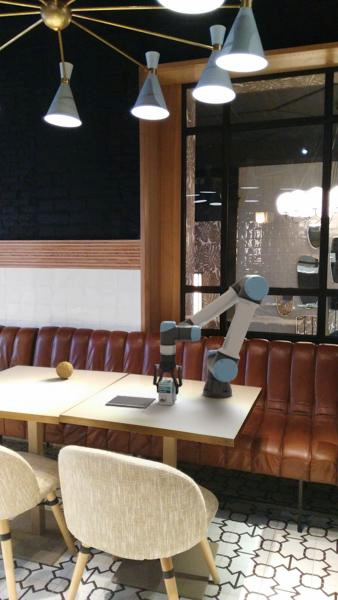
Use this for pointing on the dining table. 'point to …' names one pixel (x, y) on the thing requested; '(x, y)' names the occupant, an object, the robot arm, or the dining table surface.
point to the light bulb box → (166, 391)
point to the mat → (131, 401)
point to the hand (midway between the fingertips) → (167, 400)
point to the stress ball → (64, 370)
